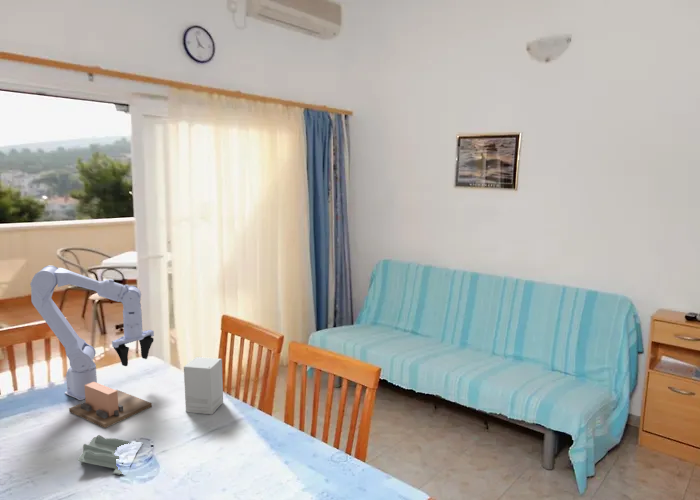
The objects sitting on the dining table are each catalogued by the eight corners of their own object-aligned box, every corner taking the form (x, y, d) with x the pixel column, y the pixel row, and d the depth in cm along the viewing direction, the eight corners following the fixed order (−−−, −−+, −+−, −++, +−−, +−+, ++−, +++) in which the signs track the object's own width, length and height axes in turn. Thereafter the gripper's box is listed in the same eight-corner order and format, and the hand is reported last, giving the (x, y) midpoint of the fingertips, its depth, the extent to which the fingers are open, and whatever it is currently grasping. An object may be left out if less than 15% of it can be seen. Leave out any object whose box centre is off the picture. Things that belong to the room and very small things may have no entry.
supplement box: (224, 402, 165) (223, 358, 163) (212, 415, 157) (210, 368, 154) (198, 399, 167) (196, 355, 165) (184, 412, 158) (182, 366, 156)
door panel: (85, 406, 158) (84, 384, 157) (95, 402, 161) (93, 381, 160) (109, 416, 152) (108, 394, 151) (118, 412, 155) (117, 390, 154)
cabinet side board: (69, 411, 157) (68, 403, 157) (116, 392, 171) (116, 385, 170) (104, 428, 148) (104, 419, 148) (151, 406, 161) (151, 398, 161)
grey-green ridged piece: (72, 457, 123) (95, 426, 138) (66, 479, 124) (90, 445, 139) (132, 469, 126) (148, 437, 140) (126, 490, 126) (143, 456, 141)
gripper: (120, 330, 163) (123, 371, 165) (158, 319, 175) (160, 357, 177) (107, 327, 167) (109, 366, 169) (145, 316, 179) (147, 353, 181)
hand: (134, 361), depth 173 cm, fingers open, 7 cm apart
